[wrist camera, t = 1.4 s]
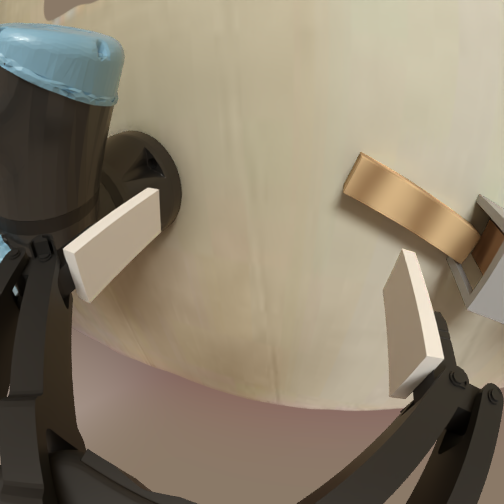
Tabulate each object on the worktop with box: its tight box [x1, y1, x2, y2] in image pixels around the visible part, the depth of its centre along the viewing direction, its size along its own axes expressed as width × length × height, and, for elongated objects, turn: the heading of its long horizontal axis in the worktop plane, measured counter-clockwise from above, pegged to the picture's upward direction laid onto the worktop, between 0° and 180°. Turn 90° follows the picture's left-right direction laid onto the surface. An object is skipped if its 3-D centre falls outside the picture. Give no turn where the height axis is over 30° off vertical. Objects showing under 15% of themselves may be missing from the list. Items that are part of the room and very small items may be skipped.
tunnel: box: [446, 194, 504, 324], centre depth 21 cm, size 8×9×9 cm
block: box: [472, 219, 504, 275], centre depth 22 cm, size 5×5×6 cm
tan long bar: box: [343, 152, 481, 264], centre depth 25 cm, size 16×4×3 cm, turn 69°
